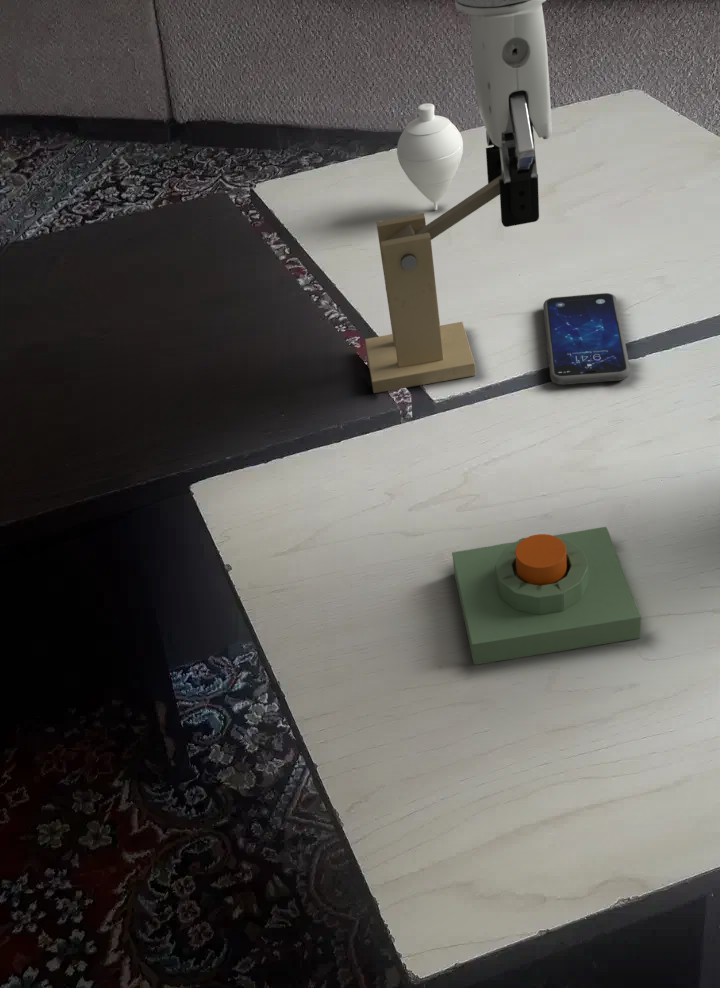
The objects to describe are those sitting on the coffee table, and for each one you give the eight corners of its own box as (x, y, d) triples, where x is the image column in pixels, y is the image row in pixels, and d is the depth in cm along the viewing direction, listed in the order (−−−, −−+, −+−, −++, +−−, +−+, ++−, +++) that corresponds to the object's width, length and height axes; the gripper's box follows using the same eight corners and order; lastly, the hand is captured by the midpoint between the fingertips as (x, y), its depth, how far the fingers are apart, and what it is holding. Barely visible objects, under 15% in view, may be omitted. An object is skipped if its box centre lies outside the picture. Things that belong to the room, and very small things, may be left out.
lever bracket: (463, 333, 108) (451, 200, 98) (475, 375, 102) (464, 239, 92) (366, 350, 108) (345, 220, 98) (373, 393, 103) (351, 259, 93)
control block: (606, 547, 83) (606, 508, 80) (640, 638, 76) (642, 598, 73) (454, 573, 84) (449, 534, 81) (474, 665, 77) (469, 626, 74)
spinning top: (395, 223, 127) (381, 119, 119) (417, 194, 132) (406, 92, 123) (455, 225, 124) (446, 119, 116) (476, 196, 129) (468, 92, 120)
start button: (560, 548, 78) (560, 530, 77) (571, 580, 76) (571, 562, 75) (512, 556, 79) (511, 538, 77) (521, 589, 76) (520, 571, 75)
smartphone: (616, 290, 107) (632, 373, 97) (615, 299, 108) (631, 382, 98) (541, 297, 108) (550, 379, 98) (542, 305, 109) (550, 388, 99)
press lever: (518, 170, 95) (506, 147, 94) (531, 198, 91) (518, 175, 90) (395, 252, 100) (382, 232, 99) (402, 282, 96) (388, 261, 94)
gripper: (575, 1, 76) (576, 242, 88) (529, -60, 88) (536, 160, 101) (471, 21, 76) (487, 258, 89) (439, -42, 88) (457, 174, 101)
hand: (513, 204), depth 95 cm, fingers closed on press lever, 6 cm apart
